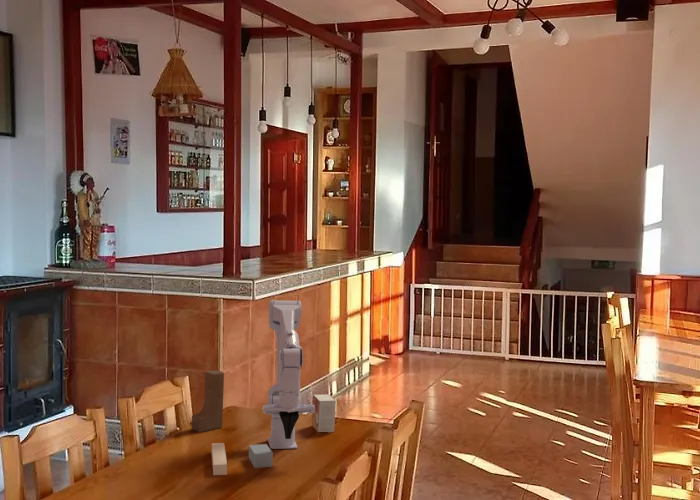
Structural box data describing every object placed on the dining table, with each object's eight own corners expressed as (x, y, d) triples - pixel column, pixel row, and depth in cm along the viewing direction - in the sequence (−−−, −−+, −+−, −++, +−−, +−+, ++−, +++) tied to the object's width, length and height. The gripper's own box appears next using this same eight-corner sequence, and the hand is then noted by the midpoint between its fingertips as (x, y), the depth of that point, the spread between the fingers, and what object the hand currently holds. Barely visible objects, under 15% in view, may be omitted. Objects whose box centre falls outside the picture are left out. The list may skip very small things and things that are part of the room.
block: (248, 459, 217) (249, 445, 217) (265, 457, 219) (266, 444, 218) (254, 468, 209) (255, 454, 209) (272, 467, 211) (272, 453, 211)
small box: (311, 425, 251) (312, 394, 250) (327, 425, 252) (329, 393, 252) (317, 433, 243) (319, 400, 242) (334, 432, 245) (336, 400, 244)
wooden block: (199, 432, 238) (200, 376, 237) (190, 429, 241) (192, 373, 240) (222, 427, 244) (224, 372, 243) (214, 424, 248) (216, 369, 246)
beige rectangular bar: (211, 452, 220) (211, 443, 220) (223, 452, 221) (224, 443, 221) (213, 475, 202) (213, 464, 202) (226, 474, 203) (227, 464, 203)
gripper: (265, 394, 209) (263, 442, 210) (317, 393, 212) (315, 441, 213) (262, 388, 216) (261, 435, 217) (313, 387, 219) (311, 434, 220)
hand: (287, 437), depth 215 cm, fingers closed
